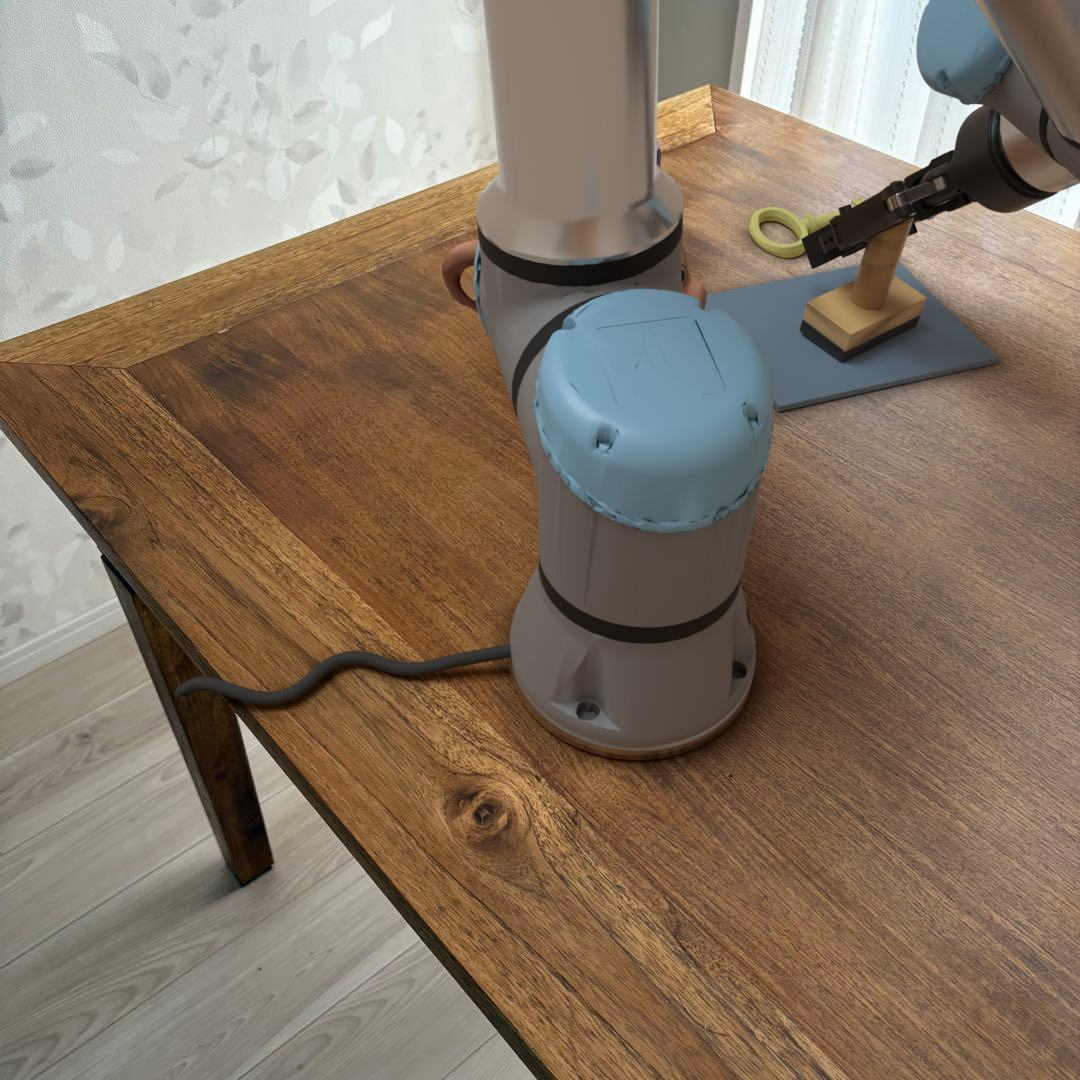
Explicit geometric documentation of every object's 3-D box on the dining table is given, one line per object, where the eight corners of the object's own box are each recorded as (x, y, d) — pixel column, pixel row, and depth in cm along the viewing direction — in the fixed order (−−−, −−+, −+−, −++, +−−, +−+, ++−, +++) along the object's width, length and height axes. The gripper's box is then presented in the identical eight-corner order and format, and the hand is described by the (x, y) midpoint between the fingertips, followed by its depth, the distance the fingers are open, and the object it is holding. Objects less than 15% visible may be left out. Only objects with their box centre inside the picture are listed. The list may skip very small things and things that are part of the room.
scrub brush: (841, 363, 90) (878, 248, 82) (798, 330, 93) (830, 215, 85) (916, 326, 94) (959, 212, 86) (873, 295, 96) (910, 182, 88)
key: (878, 225, 107) (883, 204, 105) (782, 264, 102) (785, 243, 100) (825, 194, 111) (829, 174, 109) (730, 230, 106) (733, 210, 104)
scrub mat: (777, 412, 87) (778, 406, 86) (693, 302, 97) (694, 296, 97) (996, 363, 91) (998, 357, 91) (893, 263, 102) (895, 257, 101)
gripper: (969, 226, 71) (767, 316, 93) (1136, 164, 76) (908, 263, 98) (930, 112, 70) (736, 230, 92) (1101, 59, 76) (880, 182, 98)
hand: (825, 247), depth 95 cm, fingers open, 3 cm apart
